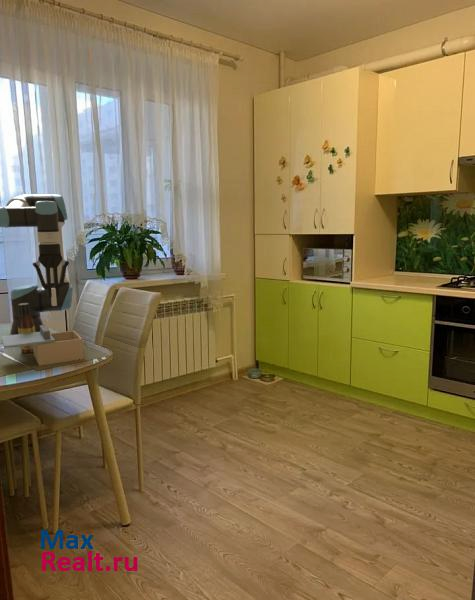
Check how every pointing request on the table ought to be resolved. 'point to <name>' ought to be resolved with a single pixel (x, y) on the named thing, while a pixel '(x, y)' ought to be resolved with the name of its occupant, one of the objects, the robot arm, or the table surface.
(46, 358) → the mailer box
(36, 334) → the mailer lid
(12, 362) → the table surface
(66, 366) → the table surface
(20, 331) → the sauce bottle
